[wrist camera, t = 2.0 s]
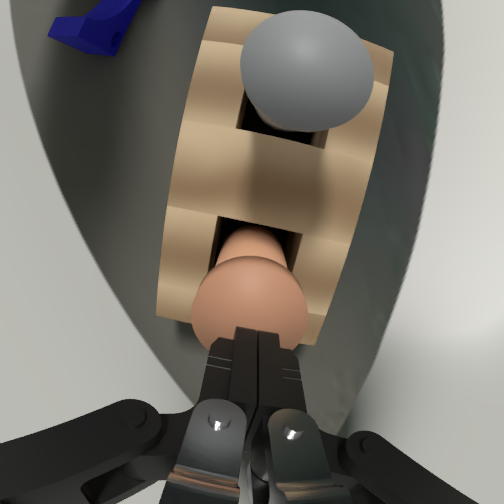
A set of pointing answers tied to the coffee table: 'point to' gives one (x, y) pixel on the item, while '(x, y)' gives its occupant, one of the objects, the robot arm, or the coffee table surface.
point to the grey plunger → (305, 72)
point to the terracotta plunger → (250, 291)
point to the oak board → (262, 177)
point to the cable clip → (96, 27)
